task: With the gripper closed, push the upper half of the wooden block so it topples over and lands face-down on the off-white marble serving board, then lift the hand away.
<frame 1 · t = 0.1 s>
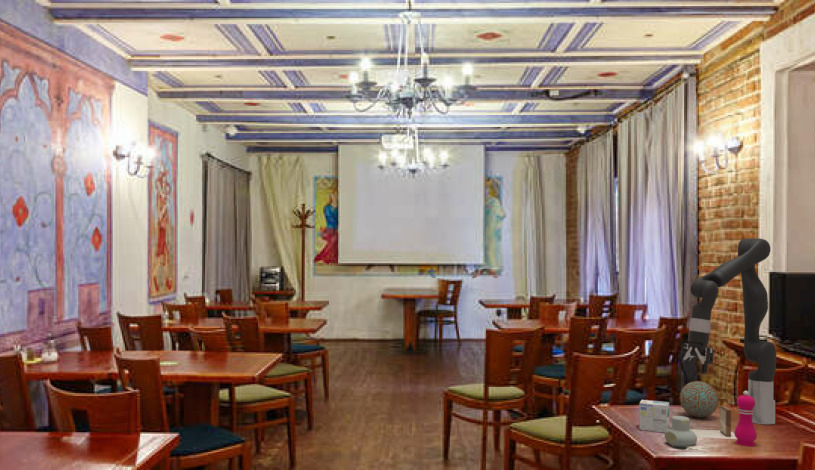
hand: (694, 372, 282), 22 cm above the table, tool pointing down, fingers open, 8 cm apart
light bulb box: (654, 430, 280), on the table
decorative sphere: (698, 417, 303), on the table
air freshener: (680, 446, 258), on the table
wooden block: (725, 434, 270), point 1 cm above the table, touching board
board: (708, 437, 271), on the table
pepper mill: (745, 447, 258), on the table
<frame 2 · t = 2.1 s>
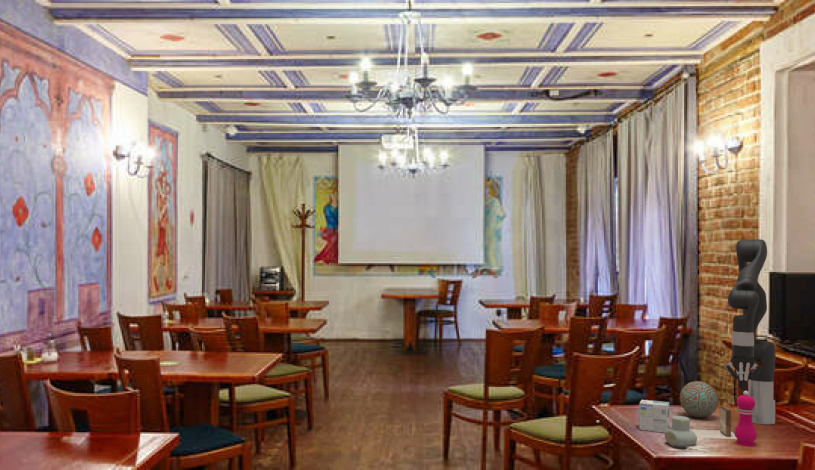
hand: (742, 390, 270), 18 cm above the table, tool pointing down, fingers closed
nothing on the table moved.
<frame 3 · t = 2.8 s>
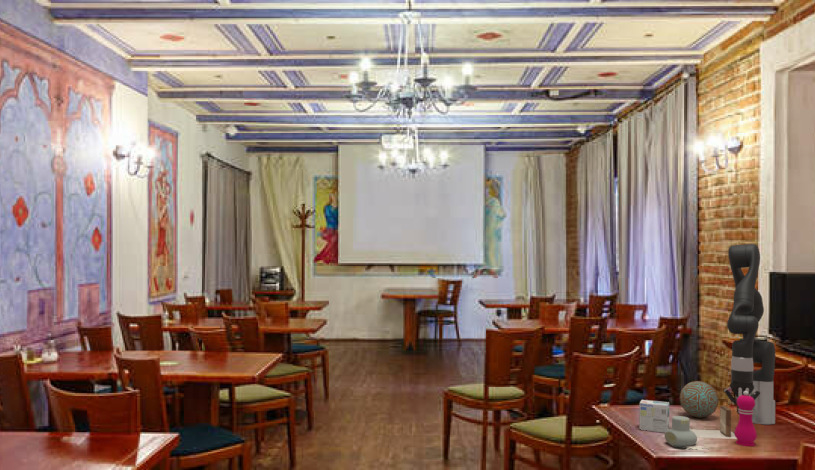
hand: (741, 415, 270), 9 cm above the table, tool pointing down, fingers closed
nothing on the table moved.
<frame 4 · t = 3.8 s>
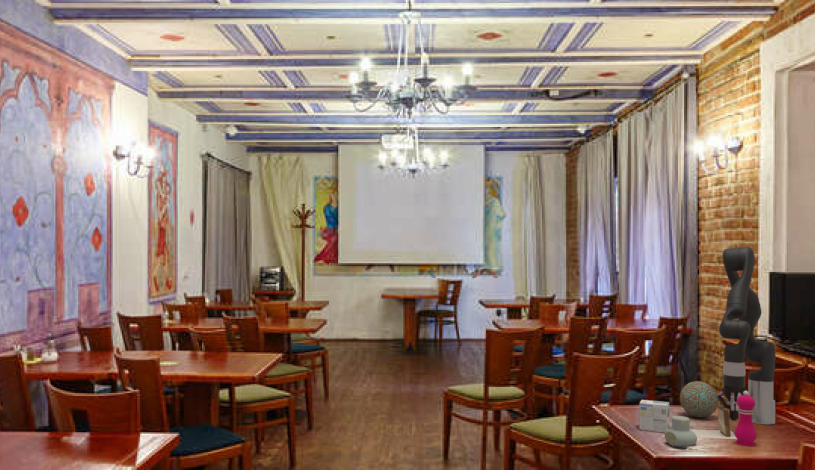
hand: (733, 420, 270), 7 cm above the table, tool pointing down, fingers closed
wooden block: (725, 434, 270), point 1 cm above the table, tilted 5°, touching board, gripper, hand
everything else where it was.
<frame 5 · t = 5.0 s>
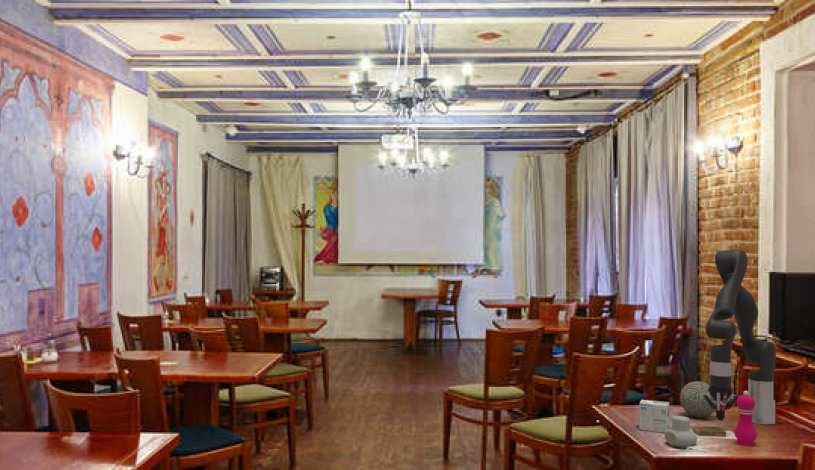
hand: (720, 420, 270), 7 cm above the table, tool pointing down, fingers closed
wooden block: (722, 431, 270), point 2 cm above the table, tilted 90°, touching board
everything else where it was.
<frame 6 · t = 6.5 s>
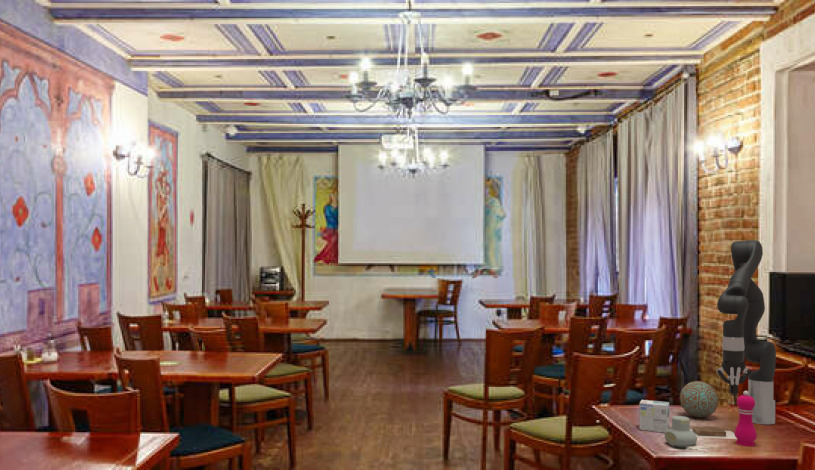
hand: (733, 394, 272), 16 cm above the table, tool pointing down, fingers closed
nothing on the table moved.
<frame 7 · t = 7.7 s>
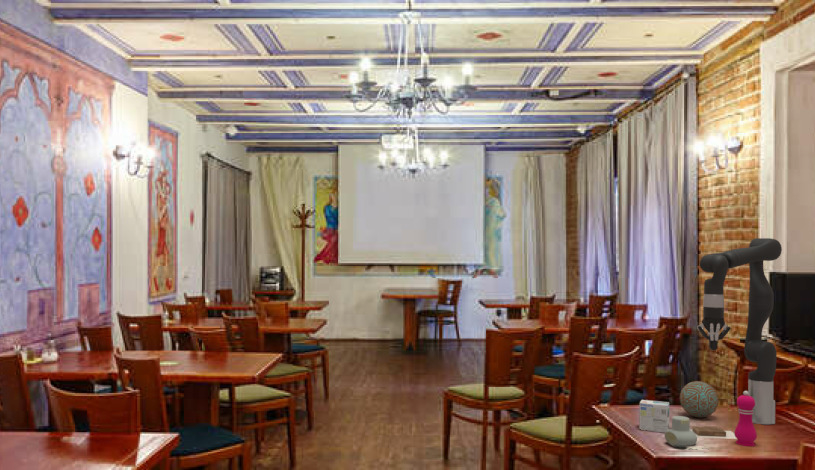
hand: (713, 350, 283), 31 cm above the table, tool pointing down, fingers closed
nothing on the table moved.
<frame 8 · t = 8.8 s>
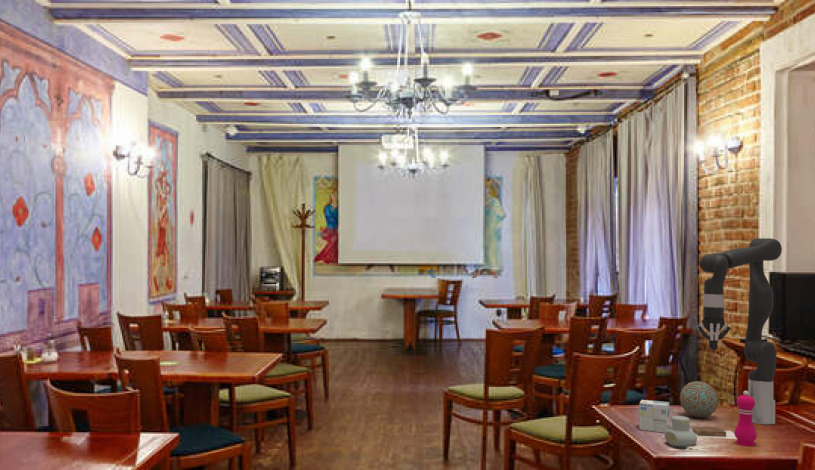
hand: (713, 350, 283), 31 cm above the table, tool pointing down, fingers closed
nothing on the table moved.
at the end: wooden block tilted 90°; wooden block inside the target area (5.1 cm from its centre), point 2.1 cm above the table; the gripper is holding nothing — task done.
